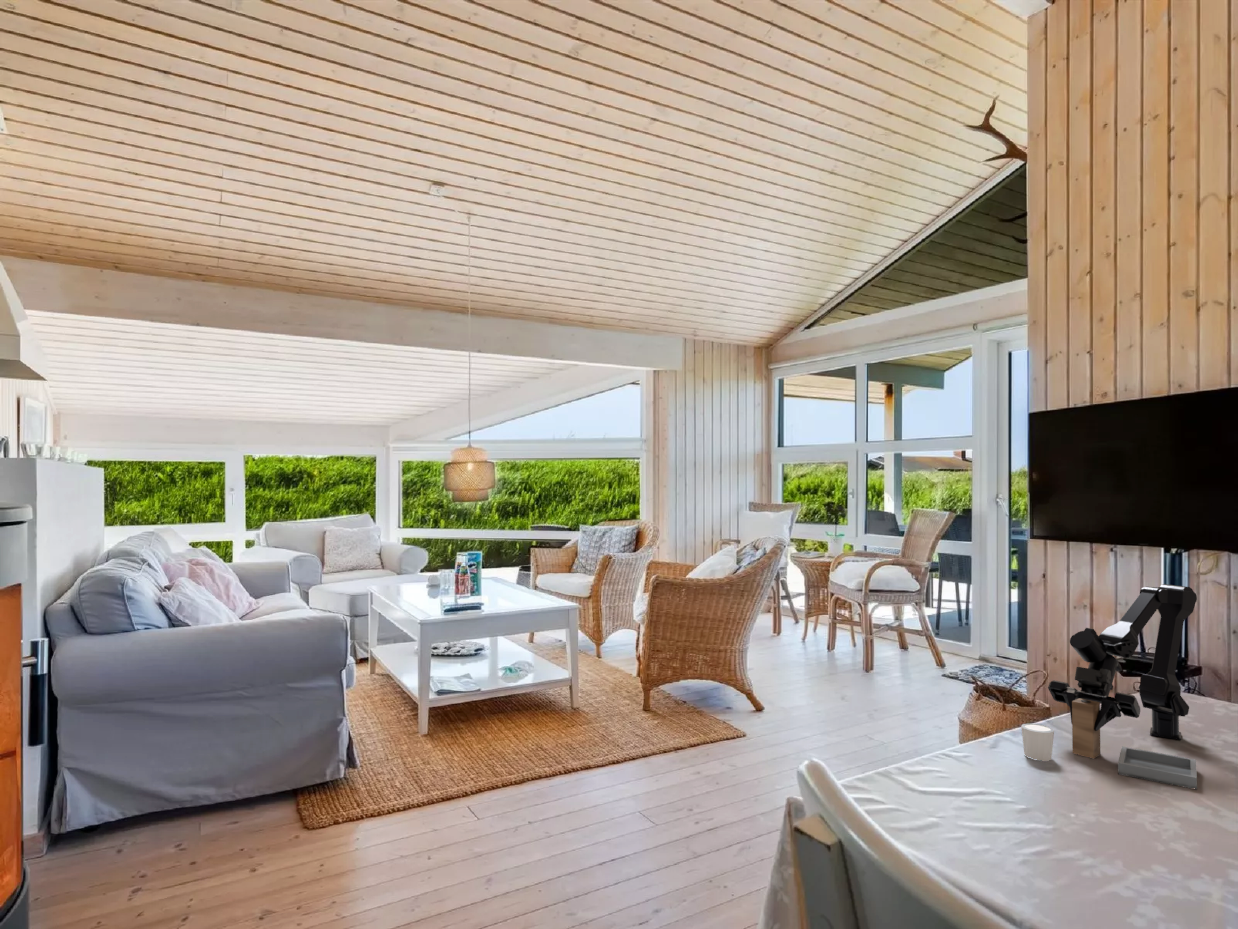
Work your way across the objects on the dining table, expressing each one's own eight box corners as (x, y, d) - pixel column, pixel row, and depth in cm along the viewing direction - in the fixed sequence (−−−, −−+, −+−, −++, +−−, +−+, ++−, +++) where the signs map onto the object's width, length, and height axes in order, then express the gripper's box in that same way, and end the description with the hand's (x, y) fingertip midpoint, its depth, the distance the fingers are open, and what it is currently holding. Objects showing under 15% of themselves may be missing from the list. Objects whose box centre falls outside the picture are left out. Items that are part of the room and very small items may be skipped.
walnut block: (1079, 749, 183) (1079, 697, 184) (1100, 754, 180) (1099, 701, 180) (1072, 753, 180) (1071, 700, 181) (1093, 758, 177) (1092, 704, 177)
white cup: (1046, 752, 181) (1045, 723, 181) (1060, 763, 174) (1059, 732, 174) (1016, 751, 181) (1016, 722, 182) (1029, 761, 174) (1029, 731, 175)
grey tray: (1122, 756, 178) (1122, 746, 178) (1196, 770, 170) (1195, 759, 170) (1118, 774, 167) (1117, 762, 167) (1196, 789, 159) (1196, 777, 159)
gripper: (1050, 648, 191) (1032, 698, 183) (1135, 661, 176) (1119, 717, 169) (1063, 674, 195) (1046, 725, 188) (1147, 689, 181) (1132, 745, 173)
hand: (1083, 727), depth 179 cm, fingers closed on walnut block, 4 cm apart
